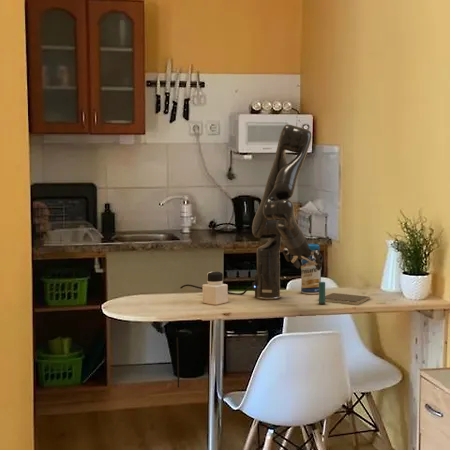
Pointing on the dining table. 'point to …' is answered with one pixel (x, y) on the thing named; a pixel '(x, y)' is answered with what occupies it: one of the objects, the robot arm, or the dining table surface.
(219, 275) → the medicine bottle
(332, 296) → the brown flat rectangular slab
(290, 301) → the dining table surface
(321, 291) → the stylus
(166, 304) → the dining table surface
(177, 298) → the dining table surface
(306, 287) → the beverage bottle
